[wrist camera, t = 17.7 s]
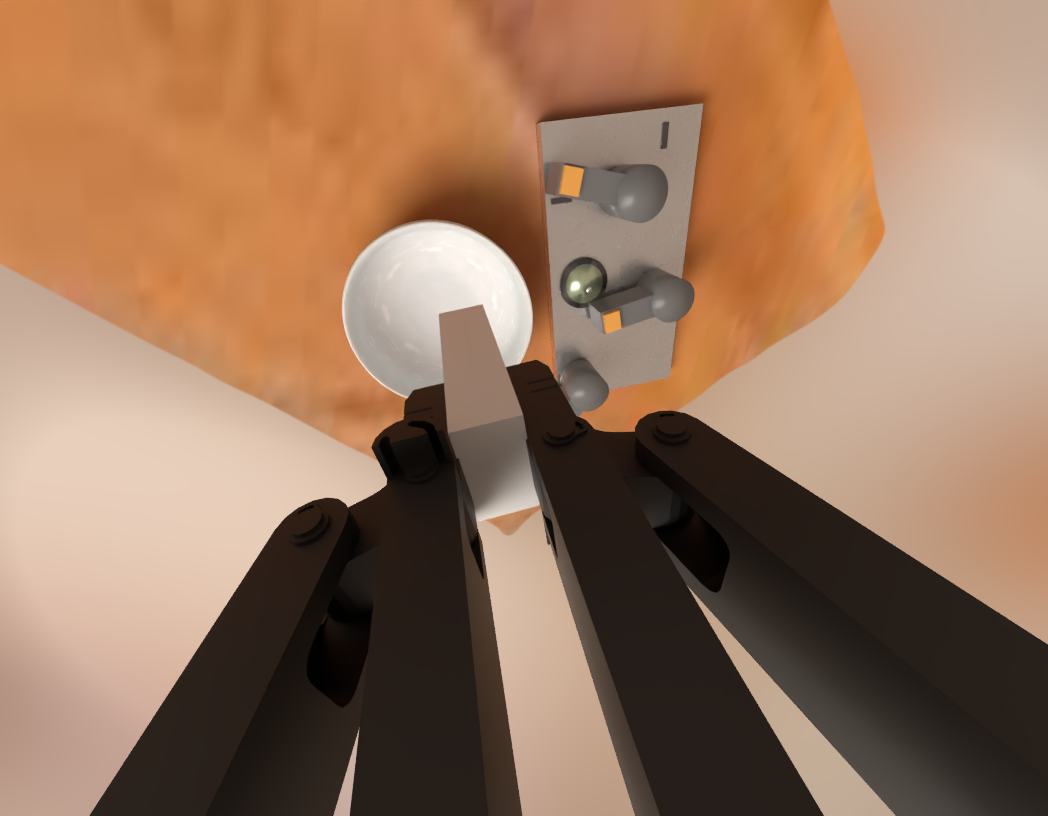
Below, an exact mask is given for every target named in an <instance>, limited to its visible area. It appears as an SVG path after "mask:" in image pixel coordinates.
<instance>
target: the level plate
mask: <svg viewBox="0 0 1048 816" xmlns="http://www.w3.org/2000/svg"><path fill="white" fill-rule="evenodd" d="M702 111H703V103H702V104H694V105H685V106H677V107H668V108H660V109H651V110H643V111H634V112H625V113H617V114H608V115H600V116H591V117H583V118H574V119H565V120H557V121H548V122H540V123H538V124H536V132H537V146H538V160H539V175H540V189H541V203H542V218H543V232H544V246H545V260H546V275H547V289H548V303H549V318H550V332H551V346H552V361H553V375H554V378H555V379H556V381H557V383H558V384H559V387H561V383H560V375H561V372H562V370H563V369H564V368H565V366H566V365H568V364H569V363H571V362H573V361H576V360H585V361H588V362H589V363H591V364H592V366H593V367H594V368H595V369H596V370H597V372H598V373H599V374H600V375H601V376H602V378H603V379H604V380H605V381H606V383H607V384H608V387H609V390H611V389H616V388H621V387H626V386H631V385H635V384H640V383H645V382H650V381H655V380H659V379H664V378H669V377H670V370H671V362H672V354H673V346H674V338H675V330H676V321H675V322H671V323H666V322H662V321H660V320H659V319H657V318H656V317H653V318H650V319H647V320H644V321H641V322H639V323H636V324H633V325H630V326H627V327H624V328H622V329H620V330H617V331H614V332H611V333H608V334H607V333H606V334H602V333H601V332H600V331H599V330H598V329H597V328H596V327H595V326H594V325H593V324H592V322H591V316H590V310H589V304H588V303H589V302H592V301H595V300H598V299H601V298H604V297H607V296H610V295H613V294H616V293H619V292H622V291H625V290H628V289H631V288H634V287H636V285H637V283H638V281H639V279H640V278H641V277H642V276H643V275H644V274H646V273H647V272H649V271H651V270H655V269H660V270H663V271H666V272H668V273H670V274H672V275H675V276H677V277H679V278H681V279H682V273H683V265H684V257H685V249H686V241H687V232H688V224H689V216H690V208H691V200H692V192H693V184H694V176H695V168H696V160H697V151H698V143H699V135H700V127H701V119H702ZM550 162H565V163H570V164H575V165H580V166H586V167H591V168H596V169H601V170H606V171H611V170H612V169H614V168H615V167H617V166H619V165H623V164H652V165H656V166H658V167H659V168H660V169H661V170H662V171H663V172H664V173H665V175H666V178H667V181H668V195H667V199H666V202H665V204H664V206H663V208H662V210H661V211H660V212H659V214H658V215H657V216H655V217H654V218H653V219H652V220H650V221H648V222H645V223H635V222H631V221H627V220H624V219H620V218H616V217H613V216H611V215H609V214H608V213H607V212H606V211H605V210H604V208H603V206H602V204H601V203H595V202H589V201H583V200H577V199H571V198H566V197H560V196H554V195H550V194H546V193H545V192H546V186H547V180H548V173H549V167H550Z"/></svg>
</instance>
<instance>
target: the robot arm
mask: <svg viewBox="0 0 1048 816" xmlns="http://www.w3.org/2000/svg"><path fill="white" fill-rule="evenodd" d="M439 326H440V339H441V351H442V364H443V377H444V383H441V384H437V385H433V386H428V387H424V388H420V389H415V390H413V391H412V393H411V394H410V395H409V397H408V398H407V400H406V401H405V408H404V415H405V416H404V420H401V421H399V422H396V423H394V424H393V425H391V426H389V427H388V428H386V429H384V430H383V431H382V432H381V433H380V434H379V435H378V436H377V437H376V438H375V441H374V443H373V445H372V447H371V448H372V450H373V452H374V454H375V456H376V458H377V460H378V462H379V463H380V466H381V467H382V469H383V471H384V473H385V475H386V477H387V485H386V486H385V487H384V488H382V489H381V490H380V491H378V492H377V493H375V494H374V495H372V496H370V497H368V498H366V499H364V500H362V501H360V502H358V503H356V504H354V505H352V506H350V507H347V505H346V504H345V503H343V502H342V501H341V500H339V499H334V498H323V499H319V500H314V501H312V502H309V503H307V504H305V505H303V506H301V507H299V508H298V509H296V510H295V511H294V512H292V513H291V514H290V515H288V516H287V517H286V518H285V519H284V520H283V521H282V522H281V524H280V525H279V526H278V527H277V528H276V529H275V531H274V532H273V534H272V535H271V537H270V539H269V540H268V542H267V543H266V545H265V546H264V548H263V549H262V551H261V552H260V554H259V556H258V557H257V559H256V560H255V562H254V563H253V565H252V566H251V568H250V569H249V571H248V572H247V574H246V576H245V577H244V579H243V580H242V582H241V583H240V585H239V587H238V588H237V589H236V591H235V592H234V594H233V596H232V597H231V599H230V600H229V602H228V603H227V605H226V606H225V608H224V609H223V611H222V612H221V614H220V616H219V617H218V619H217V620H216V622H215V623H214V625H213V626H212V628H211V630H210V631H209V632H208V634H207V636H206V637H205V639H204V640H203V642H202V643H201V645H200V647H199V648H198V649H197V651H196V652H195V654H194V656H193V657H192V659H191V660H190V662H189V663H188V665H187V666H186V668H185V670H184V671H183V673H182V674H181V676H180V677H179V679H178V680H177V682H176V683H175V685H174V686H173V688H172V690H171V691H170V693H169V694H168V696H167V697H166V699H165V700H164V702H163V703H162V705H161V706H160V708H159V709H158V711H157V713H156V714H155V716H154V717H153V719H152V720H151V722H150V723H149V725H148V726H147V728H146V730H145V731H144V733H143V734H142V736H141V737H140V739H139V740H138V742H137V744H136V745H135V747H134V748H133V750H132V751H131V753H130V754H129V756H128V757H127V759H126V760H125V762H124V763H123V765H122V767H121V768H120V770H119V771H118V773H117V774H116V776H115V777H114V779H113V780H112V782H111V784H110V785H109V787H108V788H107V790H106V791H105V793H104V794H103V796H102V797H101V799H100V800H99V802H98V803H97V805H96V807H95V808H94V810H93V811H92V813H91V814H90V816H333V815H334V811H335V808H336V805H337V801H338V798H339V794H340V791H341V788H342V784H343V781H344V778H345V774H346V771H347V767H348V764H349V760H350V757H351V754H352V750H353V746H354V744H355V740H356V737H357V733H358V730H359V737H358V746H357V757H356V764H355V773H354V782H353V791H352V800H351V809H350V816H522V810H521V803H520V797H519V790H518V783H517V776H516V770H515V763H514V756H513V749H512V742H511V736H510V729H509V723H508V715H507V709H506V702H505V695H504V688H503V681H502V675H501V667H500V661H499V654H498V647H497V641H496V634H495V627H494V620H493V613H492V606H491V599H490V593H489V586H488V579H487V572H486V565H485V559H484V552H483V545H482V540H481V537H480V535H479V532H478V529H477V523H476V517H477V520H478V522H479V521H483V520H487V519H491V518H494V517H498V516H502V515H505V514H509V513H513V512H517V511H520V510H524V509H528V508H531V507H535V506H539V503H540V506H541V509H542V514H543V519H544V526H545V531H546V537H547V542H548V545H549V544H551V548H552V551H553V554H554V557H555V560H556V564H557V567H558V570H559V573H560V576H561V579H562V583H563V586H564V589H565V592H566V596H567V599H568V602H569V605H570V608H571V612H572V615H573V618H574V621H575V624H576V628H577V631H578V634H579V637H580V640H581V643H582V647H583V650H584V653H585V656H586V660H587V663H588V666H589V669H590V672H591V676H592V679H593V682H594V685H595V688H596V691H597V695H598V698H599V701H600V704H601V708H602V711H603V714H604V717H605V720H606V724H607V726H608V730H609V733H610V736H611V740H612V743H613V746H614V749H615V752H616V756H617V759H618V762H619V765H620V768H621V771H622V775H623V778H624V781H625V784H626V788H627V791H628V794H629V797H630V800H631V803H632V807H633V810H634V813H635V816H824V815H823V813H822V812H821V810H820V808H819V807H818V805H817V803H816V802H815V800H814V798H813V797H812V795H811V793H810V792H809V790H808V788H807V787H806V785H805V783H804V782H803V780H802V778H801V777H800V775H799V773H798V771H797V770H796V768H795V766H794V765H793V763H792V761H791V760H790V758H789V756H788V755H787V753H786V751H785V750H784V748H783V746H782V745H781V743H780V741H779V740H778V738H777V736H776V735H775V733H774V731H773V729H772V728H771V726H770V724H769V723H768V721H767V719H766V718H765V716H764V714H763V713H762V711H761V709H760V708H759V706H758V704H757V703H756V701H755V699H754V697H753V696H752V694H751V692H750V691H749V689H748V688H747V686H746V684H745V682H744V681H743V679H742V677H741V676H740V674H739V672H738V671H737V669H736V667H735V666H734V664H733V662H732V660H731V659H730V657H729V655H728V654H727V653H726V650H725V649H724V647H723V645H722V644H721V642H720V640H719V639H718V637H717V635H716V634H715V632H714V630H713V629H712V627H711V625H710V623H709V622H708V620H707V618H706V617H705V615H704V613H703V612H702V610H701V608H700V607H699V605H698V603H697V602H696V600H695V598H694V597H693V595H692V593H691V592H690V590H689V588H690V589H691V590H692V591H693V592H694V593H695V595H696V596H697V597H698V598H699V599H700V600H701V601H702V602H703V603H704V604H705V606H706V607H707V608H708V609H709V610H710V611H711V612H712V613H713V614H714V615H715V617H716V618H717V619H718V620H719V621H720V622H721V623H722V624H723V625H724V626H725V628H726V629H727V630H728V631H729V632H730V633H731V634H732V635H733V636H734V637H735V639H736V640H737V641H738V642H739V643H740V644H741V645H742V646H743V647H744V648H745V650H746V651H747V652H748V653H749V654H750V655H751V656H752V657H753V658H754V660H755V661H756V662H757V663H758V664H759V665H760V666H761V667H762V668H763V669H764V671H765V672H766V673H767V674H768V675H769V676H770V677H771V678H772V679H773V681H774V682H775V683H776V684H777V685H778V686H779V687H780V688H781V689H782V690H783V692H784V693H785V694H786V695H787V696H788V697H789V698H790V699H791V700H792V701H793V703H794V704H795V705H796V706H797V707H798V708H799V709H800V710H801V711H802V712H803V714H804V715H805V716H806V717H807V718H808V719H809V720H810V721H811V722H812V723H813V725H814V726H815V727H816V728H817V729H818V730H819V731H820V732H821V733H822V734H823V736H824V737H825V738H826V739H827V740H828V741H829V742H830V743H831V744H832V746H833V747H834V748H835V749H836V750H837V751H838V752H839V753H840V754H841V755H842V757H843V758H844V759H845V760H846V761H847V762H848V763H849V764H850V765H851V766H852V768H853V769H854V770H855V771H856V772H857V773H858V774H859V775H860V776H861V777H862V778H863V780H864V781H865V782H866V783H867V784H868V785H869V786H870V787H871V788H872V790H873V791H874V792H875V793H876V794H877V795H878V796H879V797H880V798H881V800H882V801H883V802H884V803H885V804H886V805H887V806H888V807H889V808H890V809H891V811H892V812H894V814H895V815H896V816H1048V644H1046V643H1045V642H1043V641H1041V640H1040V639H1038V638H1037V637H1035V636H1034V635H1032V634H1031V633H1029V632H1027V631H1026V630H1024V629H1023V628H1021V627H1020V626H1018V625H1017V624H1015V623H1013V622H1012V621H1010V620H1009V619H1007V618H1006V617H1004V616H1003V615H1001V614H1000V613H998V612H996V611H995V610H993V609H992V608H990V607H989V606H987V605H986V604H984V603H983V602H981V601H979V600H978V599H976V598H975V597H973V596H972V595H970V594H969V593H967V592H965V591H964V590H962V589H961V588H959V587H958V586H956V585H954V584H953V583H951V582H950V581H948V580H947V579H945V578H944V577H942V576H941V575H939V574H937V573H936V572H934V571H933V570H931V569H930V568H928V567H927V566H925V565H923V564H922V563H920V562H919V561H917V560H916V559H914V558H912V557H911V556H910V555H908V554H906V553H905V552H903V551H902V550H900V549H899V548H897V547H896V546H894V545H892V544H891V543H889V542H888V541H886V540H885V539H883V538H882V537H880V536H878V535H877V534H875V533H874V532H872V531H871V530H869V529H867V528H866V527H864V526H863V525H861V524H860V523H858V522H857V521H855V520H854V519H852V518H851V517H849V516H847V515H846V514H844V513H843V512H841V511H840V510H838V509H837V508H835V507H833V506H832V505H830V504H829V503H827V502H826V501H824V500H823V499H821V498H819V497H818V496H816V495H815V494H813V493H812V492H810V491H809V490H807V489H805V488H804V487H802V486H801V485H799V484H798V483H796V482H794V481H793V480H791V479H790V478H788V477H787V476H785V475H784V474H782V473H781V472H779V471H777V470H776V469H774V468H773V467H771V466H770V465H768V464H767V463H765V462H764V461H762V460H760V459H759V458H757V457H756V456H754V455H753V454H751V453H750V452H748V451H746V450H745V449H743V448H742V447H740V446H739V445H737V444H736V443H734V442H733V441H731V440H729V439H728V438H726V437H725V436H723V435H722V434H720V433H719V432H717V431H715V430H714V429H712V428H711V427H709V426H707V425H706V424H704V423H703V422H701V421H700V420H698V419H697V418H694V417H692V416H690V415H688V414H686V413H680V412H676V411H658V412H654V413H651V414H647V415H646V416H645V417H643V418H642V419H640V420H639V421H638V423H637V425H636V427H635V432H604V431H599V430H595V429H594V428H593V427H592V426H591V425H590V424H589V423H588V422H587V421H586V420H585V419H582V418H580V417H578V416H576V414H575V413H574V411H573V409H572V407H571V406H570V404H569V402H568V400H567V398H566V397H565V395H564V393H563V391H562V390H561V388H560V387H559V384H558V383H557V381H556V379H555V378H554V375H553V374H552V372H551V370H550V368H549V367H548V366H547V365H545V364H543V363H541V362H540V361H538V360H534V361H529V362H525V363H521V364H517V365H512V366H508V367H505V364H504V361H503V358H502V356H501V353H500V350H499V348H498V345H497V342H496V339H495V337H494V334H493V331H492V328H491V326H490V323H489V320H488V318H487V315H486V312H485V309H484V307H483V304H481V305H477V306H472V307H467V308H463V309H458V310H454V311H449V312H444V313H440V314H439ZM475 514H476V515H475ZM687 586H688V587H689V588H688V587H687ZM359 727H360V728H359Z"/></svg>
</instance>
